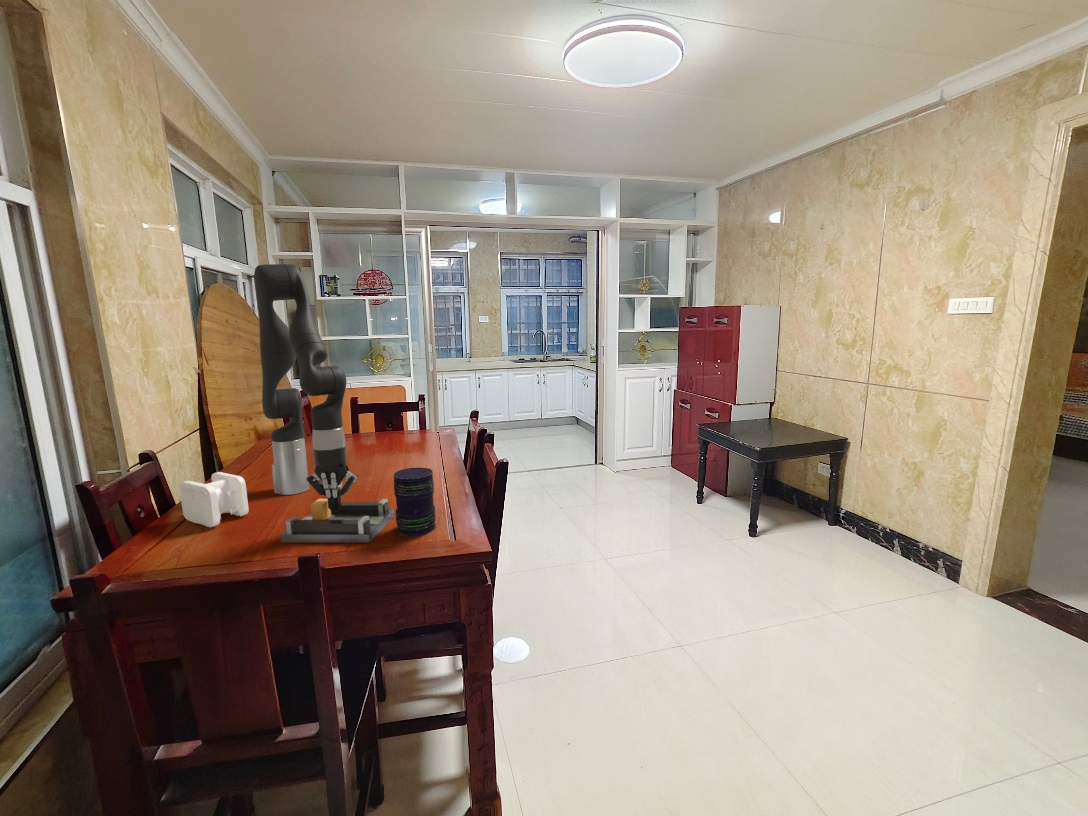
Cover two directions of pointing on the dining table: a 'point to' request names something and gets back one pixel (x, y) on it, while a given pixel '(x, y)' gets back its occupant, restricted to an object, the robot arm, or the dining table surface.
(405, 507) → the dark blue cylinder
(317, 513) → the toggle
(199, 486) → the cable organizer
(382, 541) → the dining table surface
